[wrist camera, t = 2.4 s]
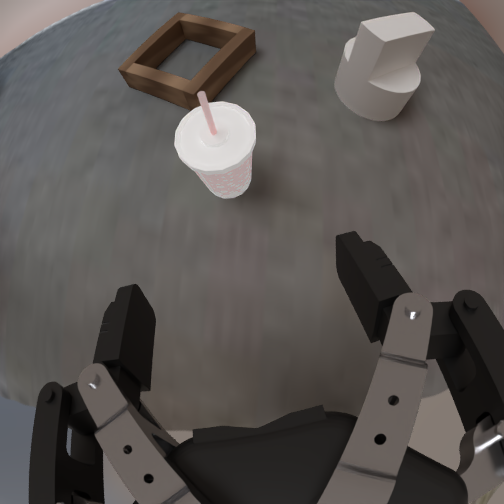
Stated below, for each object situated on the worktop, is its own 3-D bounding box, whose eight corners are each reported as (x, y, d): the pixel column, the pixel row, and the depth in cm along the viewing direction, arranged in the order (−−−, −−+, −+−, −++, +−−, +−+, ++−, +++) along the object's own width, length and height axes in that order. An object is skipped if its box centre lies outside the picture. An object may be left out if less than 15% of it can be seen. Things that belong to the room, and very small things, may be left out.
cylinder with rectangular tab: (368, 132, 29) (408, 65, 17) (319, 78, 30) (336, 5, 18) (414, 107, 30) (457, 49, 18) (369, 59, 31) (394, -4, 19)
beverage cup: (270, 167, 29) (273, 78, 15) (237, 217, 29) (213, 154, 15) (220, 141, 30) (192, 50, 16) (187, 187, 29) (132, 115, 15)
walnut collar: (129, 86, 31) (117, 69, 27) (184, 31, 32) (178, 12, 28) (200, 114, 30) (193, 94, 26) (255, 51, 31) (254, 30, 27)
